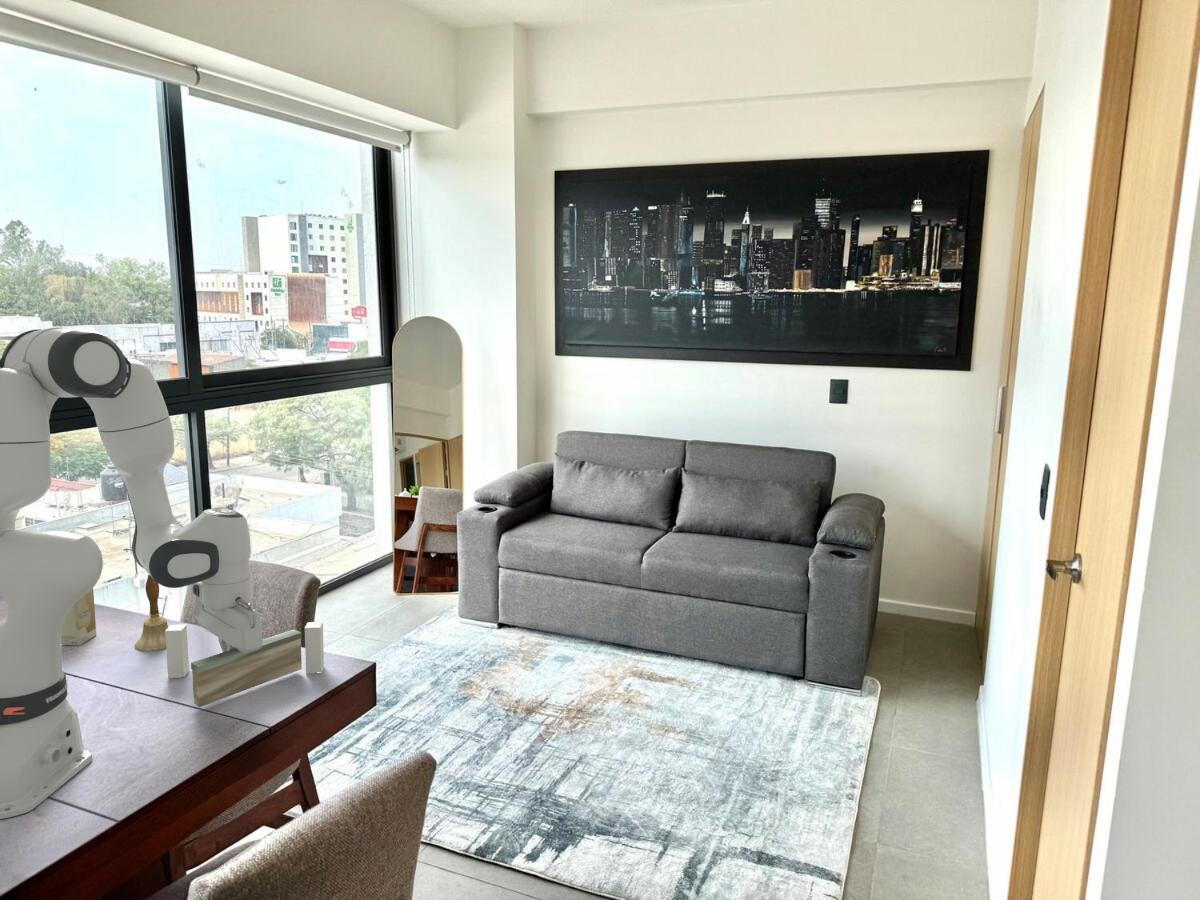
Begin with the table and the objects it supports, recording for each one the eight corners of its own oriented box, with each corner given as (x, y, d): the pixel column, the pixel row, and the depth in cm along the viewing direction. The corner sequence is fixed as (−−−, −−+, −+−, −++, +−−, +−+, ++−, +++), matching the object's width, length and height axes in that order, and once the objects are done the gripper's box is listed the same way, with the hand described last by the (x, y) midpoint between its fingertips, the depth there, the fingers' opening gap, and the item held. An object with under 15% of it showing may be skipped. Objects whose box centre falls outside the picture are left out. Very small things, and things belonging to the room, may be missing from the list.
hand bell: (174, 649, 178) (169, 578, 175) (130, 653, 175) (125, 581, 172) (180, 634, 185) (176, 566, 183) (139, 638, 183) (134, 569, 180)
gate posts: (321, 673, 169) (320, 627, 167) (168, 678, 164) (165, 630, 163) (324, 667, 172) (322, 621, 170) (173, 671, 167) (170, 624, 166)
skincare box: (79, 646, 178) (75, 592, 175) (59, 645, 178) (55, 591, 176) (98, 634, 184) (94, 582, 182) (78, 633, 184) (74, 581, 182)
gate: (302, 669, 168) (301, 632, 167) (200, 707, 151) (198, 666, 150) (295, 666, 170) (294, 629, 168) (193, 703, 153) (190, 662, 151)
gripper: (270, 601, 153) (272, 671, 155) (219, 575, 166) (222, 640, 168) (237, 610, 148) (240, 682, 151) (187, 582, 161) (190, 649, 164)
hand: (230, 659), depth 160 cm, fingers closed
